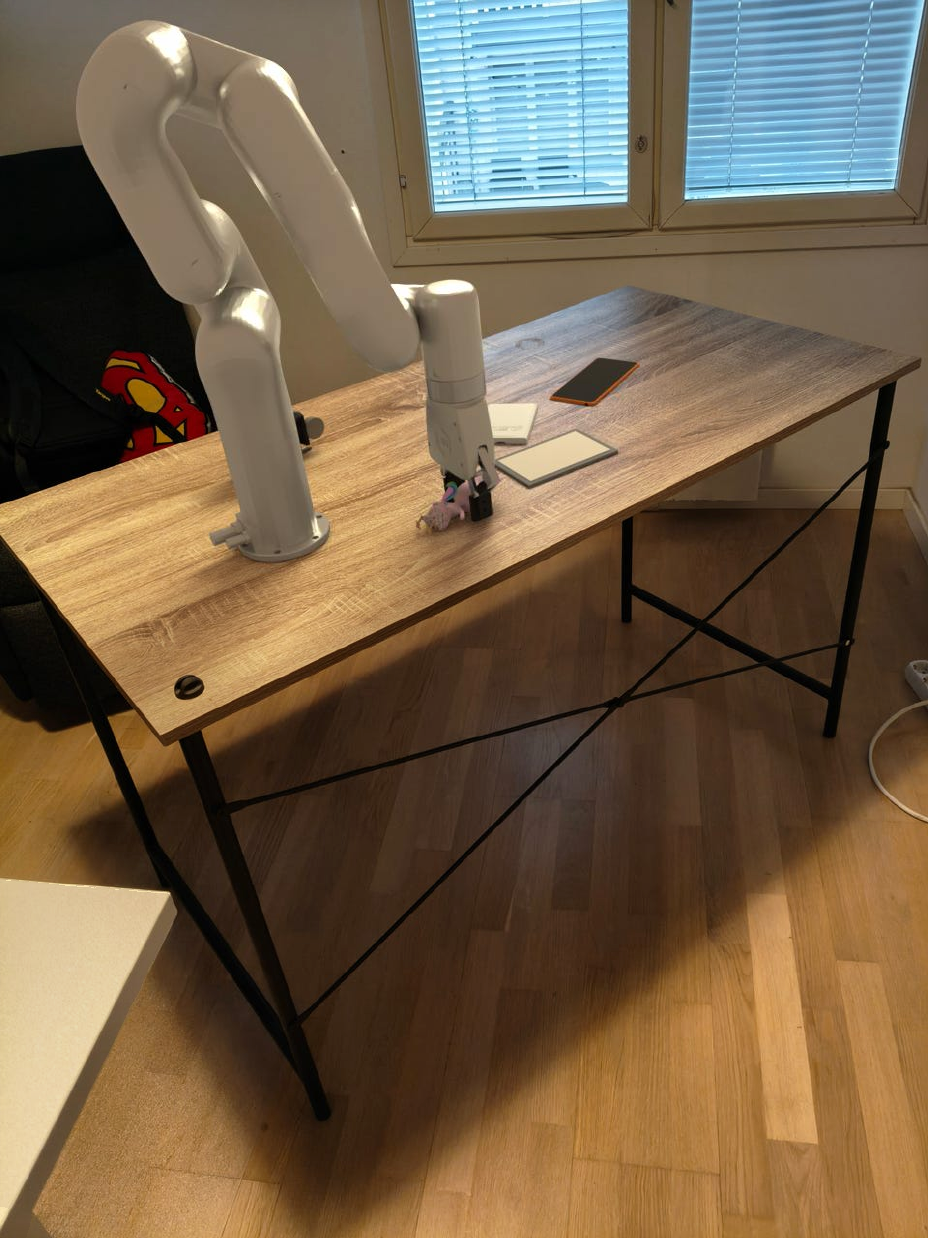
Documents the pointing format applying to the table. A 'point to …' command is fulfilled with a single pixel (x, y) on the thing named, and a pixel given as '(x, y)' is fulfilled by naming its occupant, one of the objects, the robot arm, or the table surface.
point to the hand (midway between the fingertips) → (469, 508)
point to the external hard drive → (512, 422)
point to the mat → (553, 457)
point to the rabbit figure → (450, 505)
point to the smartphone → (594, 381)
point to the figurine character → (307, 428)
